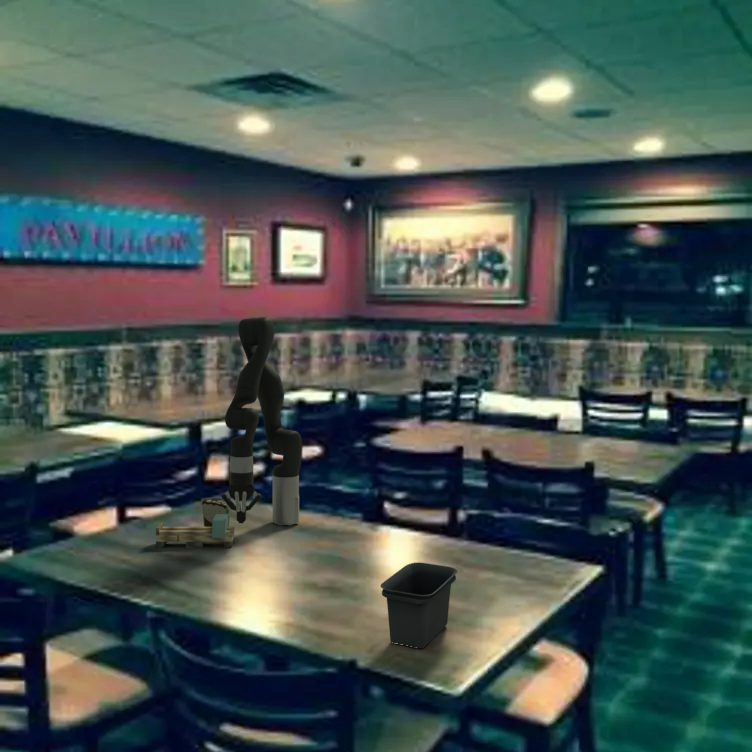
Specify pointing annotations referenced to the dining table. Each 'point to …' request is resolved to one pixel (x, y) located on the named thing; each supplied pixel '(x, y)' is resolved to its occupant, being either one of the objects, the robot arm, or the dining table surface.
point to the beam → (191, 536)
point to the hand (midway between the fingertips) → (241, 522)
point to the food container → (213, 509)
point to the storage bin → (418, 602)
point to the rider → (220, 525)
